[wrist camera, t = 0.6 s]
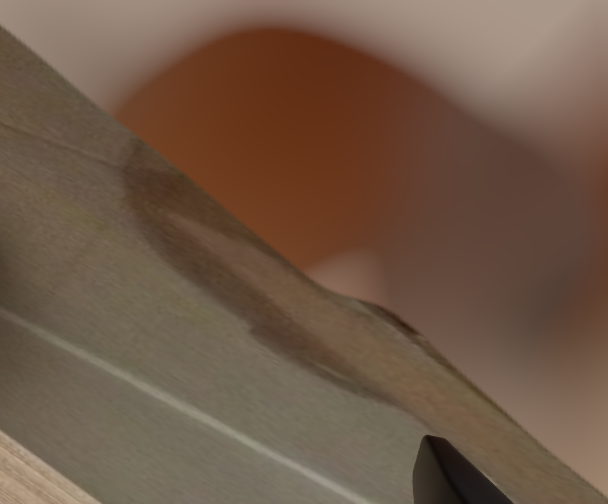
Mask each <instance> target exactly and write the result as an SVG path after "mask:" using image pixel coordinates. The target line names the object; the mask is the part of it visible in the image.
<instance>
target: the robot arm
mask: <svg viewBox="0 0 608 504" xmlns="http://www.w3.org/2000/svg"><path fill="white" fill-rule="evenodd" d="M413 494H414V504H514V503H513V502H512V501H511V500H510V499H508V498H507V497H506V496H505V495H504V494H503V493H502V492H501V491H500V490H499V489H498V488H497V487H496V486H495V485H494V484H493V483H492V482H491V481H490V480H488V479H487V478H486V477H485V476H484V475H483V474H482V473H481V472H480V471H479V470H478V469H477V468H476V467H475V466H474V465H473V464H472V463H471V462H469V461H468V460H467V459H466V458H465V457H464V456H463V455H462V454H461V453H460V452H459V451H458V450H457V449H456V448H455V447H454V446H453V445H452V444H451V443H449V442H448V441H447V440H446V439H444V438H440V437H436V436H431V435H425V436H424V437H423V439H422V441H421V444H420V448H419V451H418V455H417V459H416V462H415V466H414V470H413Z"/></svg>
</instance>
